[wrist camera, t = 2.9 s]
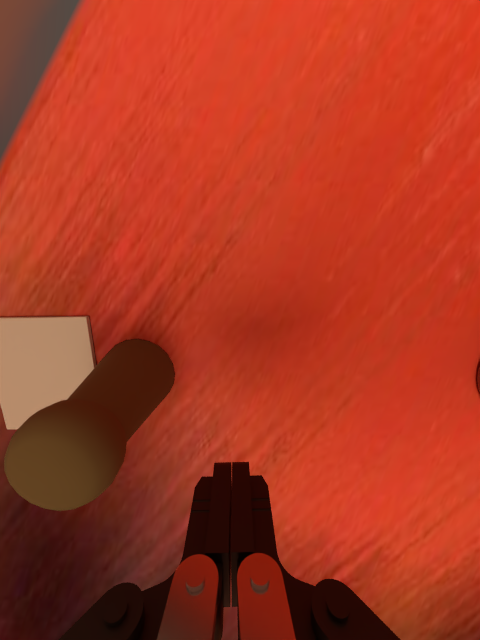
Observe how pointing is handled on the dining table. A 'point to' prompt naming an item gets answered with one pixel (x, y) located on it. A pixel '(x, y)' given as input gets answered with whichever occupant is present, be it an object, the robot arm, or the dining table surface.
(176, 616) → the robot arm
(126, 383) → the cork
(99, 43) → the dining table surface
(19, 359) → the mat
